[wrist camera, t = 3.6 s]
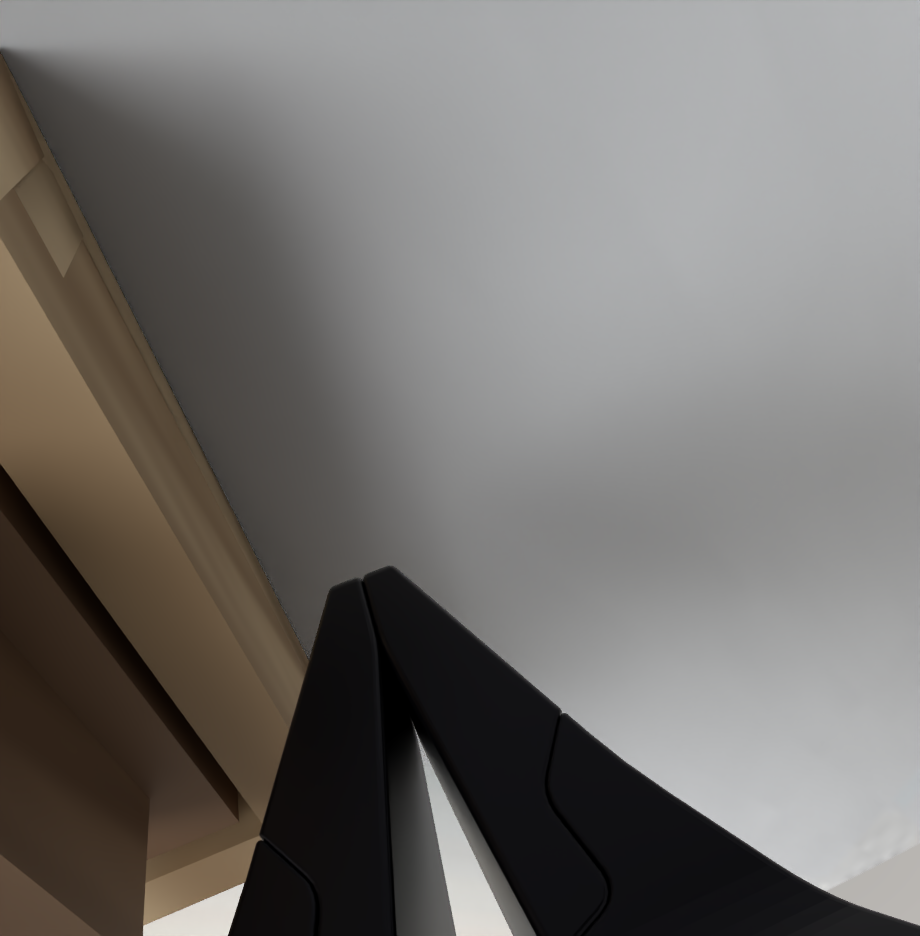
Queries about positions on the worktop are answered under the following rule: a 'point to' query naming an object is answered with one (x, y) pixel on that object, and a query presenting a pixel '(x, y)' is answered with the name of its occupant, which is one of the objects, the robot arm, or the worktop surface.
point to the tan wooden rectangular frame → (135, 501)
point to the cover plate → (84, 750)
